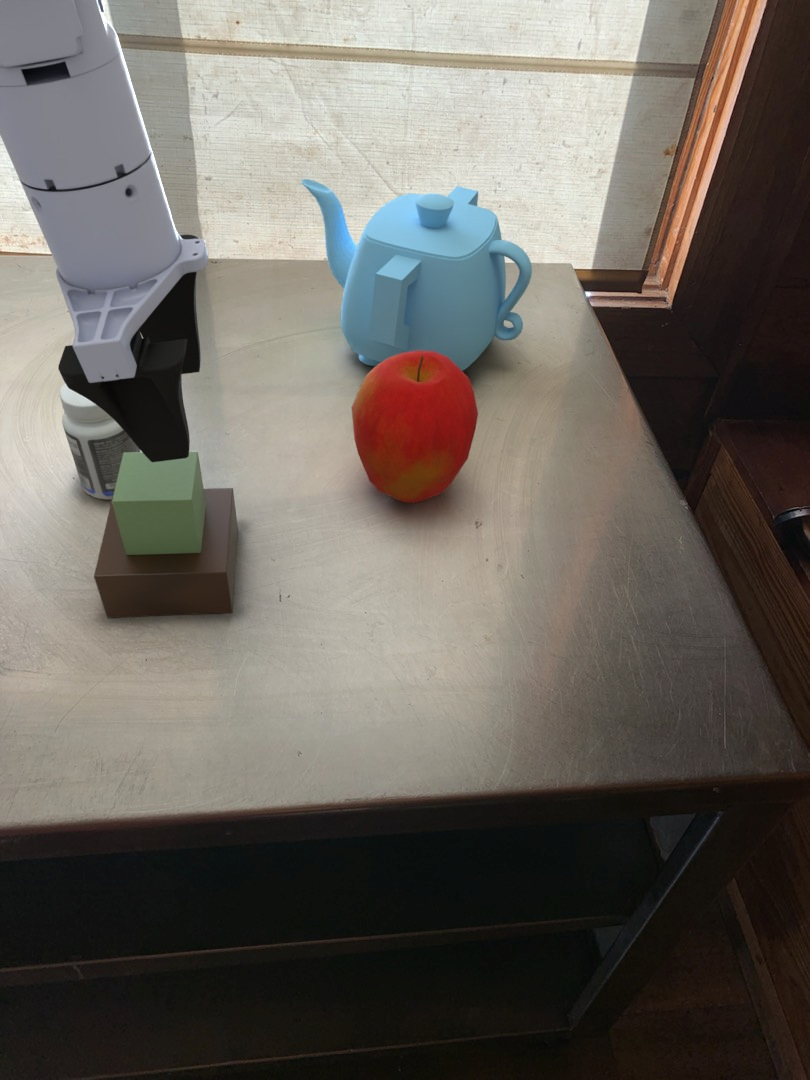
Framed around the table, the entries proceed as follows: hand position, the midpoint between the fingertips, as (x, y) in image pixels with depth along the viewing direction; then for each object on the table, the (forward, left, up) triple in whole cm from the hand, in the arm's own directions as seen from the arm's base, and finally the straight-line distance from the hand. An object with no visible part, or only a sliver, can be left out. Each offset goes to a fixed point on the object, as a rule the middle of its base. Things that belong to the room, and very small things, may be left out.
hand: (177, 411), depth 44 cm
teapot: (+17, +30, -14) cm, 37 cm away
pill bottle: (-8, +10, -14) cm, 19 cm away
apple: (+15, +9, -14) cm, 22 cm away
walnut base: (-2, +1, -14) cm, 14 cm away
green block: (-2, +1, -10) cm, 10 cm away
